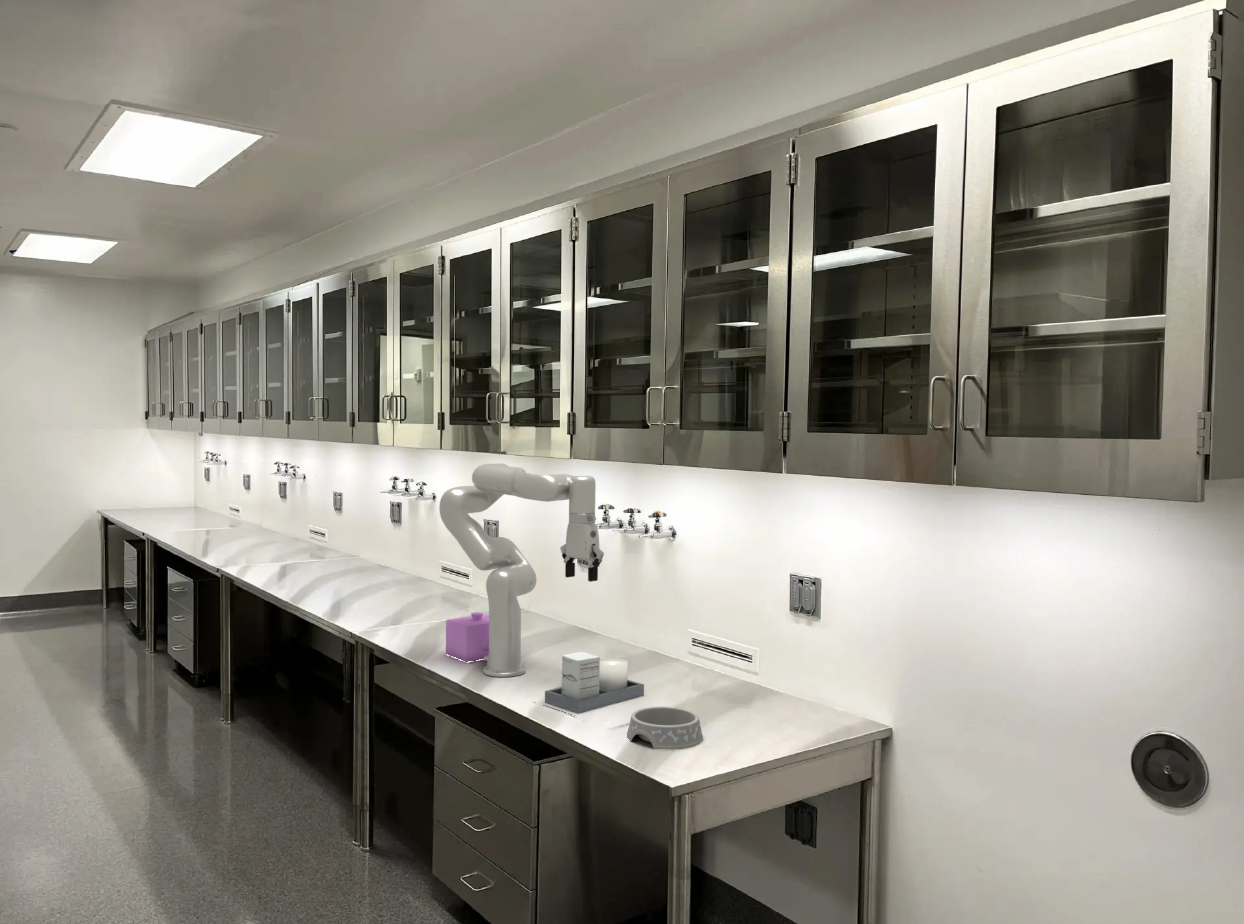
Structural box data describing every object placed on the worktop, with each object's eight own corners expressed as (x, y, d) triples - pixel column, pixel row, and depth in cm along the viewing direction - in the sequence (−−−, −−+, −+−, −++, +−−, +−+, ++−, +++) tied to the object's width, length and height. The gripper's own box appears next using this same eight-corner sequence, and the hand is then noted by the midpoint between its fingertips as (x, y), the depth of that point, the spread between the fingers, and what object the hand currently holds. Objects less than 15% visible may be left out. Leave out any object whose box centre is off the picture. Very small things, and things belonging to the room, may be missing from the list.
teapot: (478, 668, 276) (478, 622, 276) (438, 652, 296) (438, 610, 295) (519, 661, 286) (520, 616, 286) (478, 646, 305) (479, 604, 305)
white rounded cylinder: (591, 693, 247) (592, 661, 247) (612, 688, 252) (613, 656, 252) (612, 700, 241) (612, 666, 241) (633, 694, 247) (633, 661, 246)
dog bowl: (657, 721, 228) (657, 700, 228) (717, 737, 216) (717, 715, 216) (612, 737, 215) (612, 715, 215) (673, 756, 203) (673, 732, 203)
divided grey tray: (544, 706, 238) (544, 691, 238) (610, 689, 255) (610, 674, 255) (577, 717, 229) (577, 701, 229) (643, 699, 246) (644, 684, 246)
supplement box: (560, 702, 238) (561, 654, 238) (582, 697, 243) (583, 650, 243) (577, 709, 233) (578, 660, 232) (600, 704, 238) (600, 656, 237)
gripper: (612, 520, 255) (611, 581, 256) (571, 516, 267) (571, 574, 268) (592, 522, 250) (592, 584, 250) (552, 517, 262) (551, 576, 263)
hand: (581, 578), depth 259 cm, fingers open, 9 cm apart
